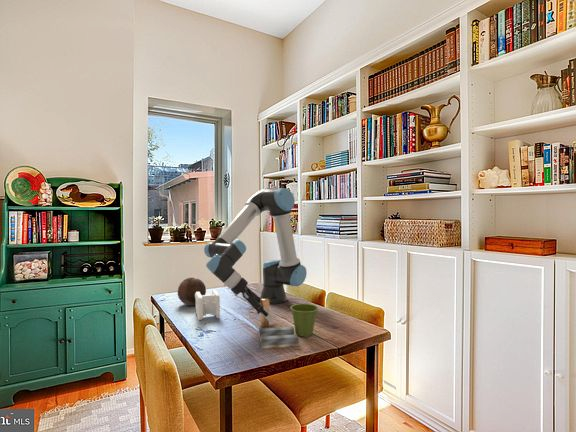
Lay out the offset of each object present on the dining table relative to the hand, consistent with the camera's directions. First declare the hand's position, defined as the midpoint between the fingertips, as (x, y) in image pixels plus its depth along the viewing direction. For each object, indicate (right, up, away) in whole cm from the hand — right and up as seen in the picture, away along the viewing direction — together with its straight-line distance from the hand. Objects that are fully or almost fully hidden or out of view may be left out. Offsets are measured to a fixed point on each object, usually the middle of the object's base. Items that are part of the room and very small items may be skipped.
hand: (271, 315), depth 157 cm
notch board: (+4, -5, -19) cm, 20 cm away
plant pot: (+15, -5, -11) cm, 19 cm away
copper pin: (-3, -4, 0) cm, 5 cm away
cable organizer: (-32, -5, +14) cm, 35 cm away
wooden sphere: (-45, -4, +35) cm, 57 cm away
